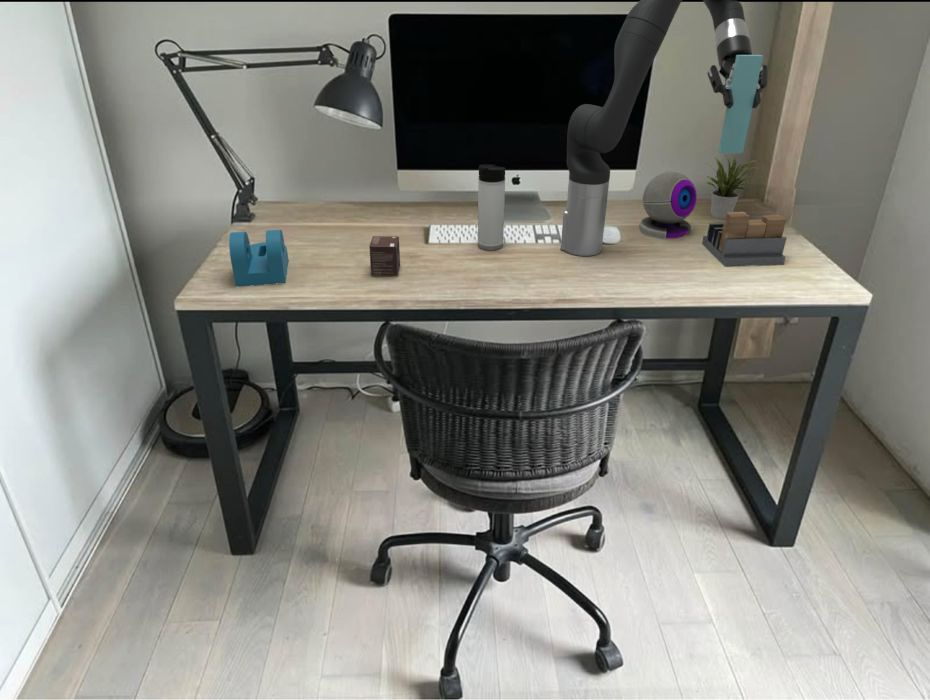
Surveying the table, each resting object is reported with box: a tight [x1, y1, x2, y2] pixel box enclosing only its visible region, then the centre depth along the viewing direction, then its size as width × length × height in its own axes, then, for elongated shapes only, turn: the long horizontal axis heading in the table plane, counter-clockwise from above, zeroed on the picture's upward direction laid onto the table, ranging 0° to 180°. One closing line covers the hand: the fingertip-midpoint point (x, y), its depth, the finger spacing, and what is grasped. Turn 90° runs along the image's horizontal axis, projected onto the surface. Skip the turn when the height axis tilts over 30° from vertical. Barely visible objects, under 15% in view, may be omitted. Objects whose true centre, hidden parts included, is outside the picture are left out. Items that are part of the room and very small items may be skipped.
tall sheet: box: [717, 54, 764, 154], centre depth 162 cm, size 2×6×22 cm, turn 94°
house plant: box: [705, 154, 761, 220], centre depth 183 cm, size 14×14×16 cm
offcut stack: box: [719, 211, 787, 253], centre depth 158 cm, size 3×13×9 cm, turn 94°
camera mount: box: [228, 229, 289, 287], centre depth 154 cm, size 18×10×10 cm, turn 10°
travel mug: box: [477, 163, 506, 251], centre depth 163 cm, size 6×7×20 cm
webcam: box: [638, 171, 698, 240], centre depth 174 cm, size 13×13×15 cm
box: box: [368, 235, 401, 277], centre depth 153 cm, size 6×6×7 cm
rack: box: [701, 222, 787, 267], centre depth 163 cm, size 14×14×6 cm
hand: (743, 106), depth 161 cm, fingers closed on tall sheet, 5 cm apart
